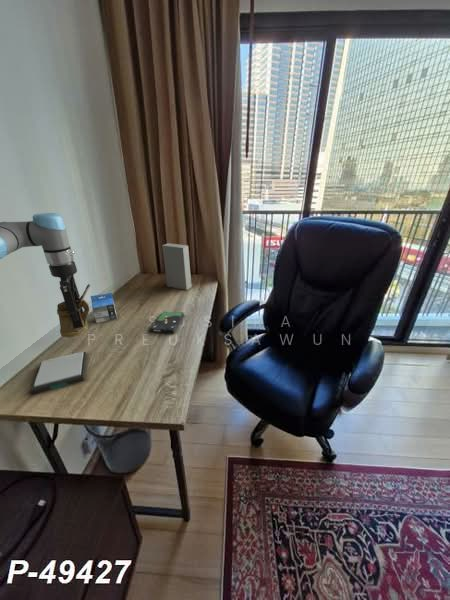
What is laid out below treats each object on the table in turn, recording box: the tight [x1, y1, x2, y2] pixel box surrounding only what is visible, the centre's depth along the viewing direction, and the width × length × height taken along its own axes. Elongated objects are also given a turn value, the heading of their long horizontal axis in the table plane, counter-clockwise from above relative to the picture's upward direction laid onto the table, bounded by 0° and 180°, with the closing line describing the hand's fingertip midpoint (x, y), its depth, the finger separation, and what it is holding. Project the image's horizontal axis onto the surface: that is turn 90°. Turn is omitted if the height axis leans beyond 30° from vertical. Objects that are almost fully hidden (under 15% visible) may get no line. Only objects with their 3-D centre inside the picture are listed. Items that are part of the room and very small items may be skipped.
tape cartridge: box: [90, 292, 118, 324], centre depth 112 cm, size 9×4×12 cm, turn 112°
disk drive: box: [150, 310, 185, 335], centre depth 110 cm, size 10×3×15 cm
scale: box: [30, 351, 88, 395], centre depth 83 cm, size 14×14×3 cm
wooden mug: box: [56, 283, 91, 338], centre depth 90 cm, size 9×14×18 cm, turn 104°
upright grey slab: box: [161, 242, 193, 291], centre depth 143 cm, size 14×6×25 cm, turn 65°
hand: (79, 322), depth 93 cm, fingers closed on wooden mug, 7 cm apart
